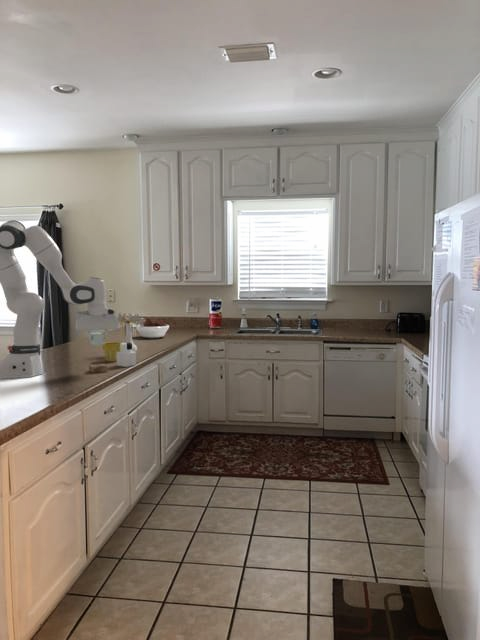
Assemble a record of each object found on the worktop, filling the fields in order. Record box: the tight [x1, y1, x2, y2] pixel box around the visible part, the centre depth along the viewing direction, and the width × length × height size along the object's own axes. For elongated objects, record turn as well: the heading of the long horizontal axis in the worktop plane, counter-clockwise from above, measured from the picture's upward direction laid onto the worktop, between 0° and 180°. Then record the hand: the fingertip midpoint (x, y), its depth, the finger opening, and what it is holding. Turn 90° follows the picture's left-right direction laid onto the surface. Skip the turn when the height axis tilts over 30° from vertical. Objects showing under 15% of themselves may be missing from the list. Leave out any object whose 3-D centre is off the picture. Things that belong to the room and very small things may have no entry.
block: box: [88, 363, 108, 374], centre depth 250 cm, size 7×7×3 cm
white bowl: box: [135, 318, 170, 339], centre depth 387 cm, size 25×25×15 cm
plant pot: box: [102, 341, 122, 362], centre depth 282 cm, size 10×10×10 cm
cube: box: [89, 331, 104, 346], centre depth 250 cm, size 5×5×5 cm
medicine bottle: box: [116, 342, 137, 368], centre depth 267 cm, size 7×7×12 cm
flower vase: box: [117, 312, 147, 352], centre depth 304 cm, size 13×18×25 cm
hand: (97, 339), depth 250 cm, fingers closed on cube, 5 cm apart
